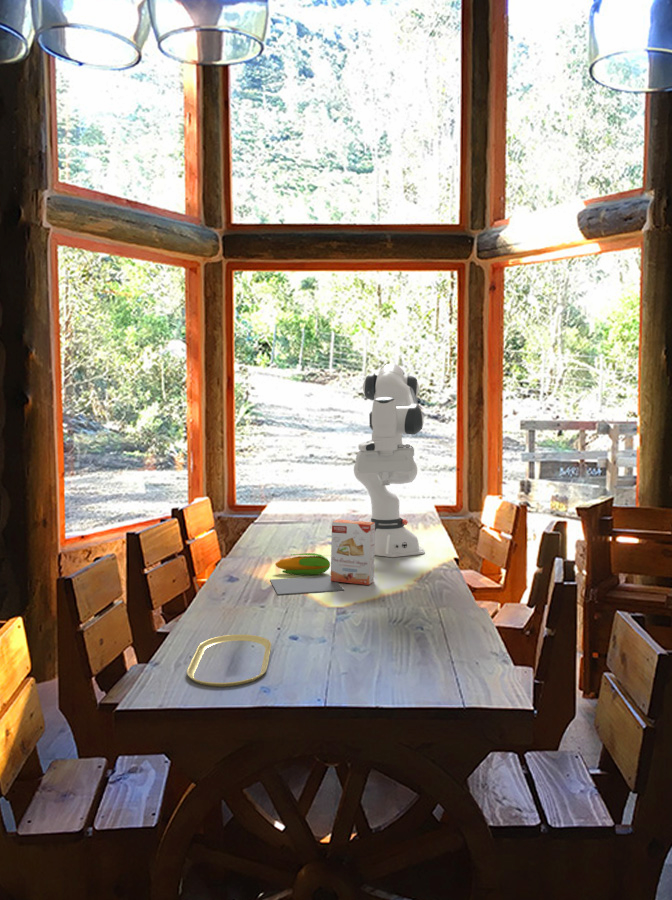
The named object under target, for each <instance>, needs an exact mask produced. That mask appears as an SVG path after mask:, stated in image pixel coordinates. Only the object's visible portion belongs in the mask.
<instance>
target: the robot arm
mask: <svg viewBox="0 0 672 900" xmlns="http://www.w3.org/2000/svg"><path fill="white" fill-rule="evenodd" d="M362 391H363V394H364V397H365V399H367V400H370V401H373V402H372V408H371V409H372V410H371V411H370V413H369V428H370V429H371V430H372V433H371V439H370V440H367V441H364V442H362V443H360V444H358V446H357V447H358V450H359V451H358V452H357V453H356V456H355V463H354V465H353V474H354V477H355V478H356V480H357V481H358V482H360V483H361V484H362V485H363V486H364V487H365V489H366V490H367V493H368V494H369V498H370V505H371V518H370V522H375V550H374V556H377V557H379V556H380V557H386V558H398V557H406V556H407V557H408V556H417V555H423V554H425V549H424V548H423V547H421V546H420V545H419V544H420V543H419V540H418V537H417V536H416V534H414V533H413V532H411V531H410V530H409V529H408V528H406V527H405V526H406V525H408V524H409V522H408V520H407V519H404V518H401V517H400V499H399V498H398V495H396V494H395V493H393V492H392V491H390V490H388V488H387V487H386V486H390V485H403V484H408V483H412V482H413V481H414V480H416V478H417V474H418V465H417V463H416V461H415V460H414V455H415V448H414V446H413V445H410V444H404V443H403V435H405V434H406V435H414V436H415V435H417V434H418V433H419V432H420V431H422V430H423V426H424V421H425V419H424V414H423V411H422V409H421V408H420V406H419V402H418V399H417V398H418V395H419V392H420V385H419V382H418V379H417V378H416V377H415V376H413V375H404V371H403V369H402V368H401V367H400V366H399V365H398V364H395V363H387V364H385V365H384V366H382V367H381V368H380V370H379V372H378V373H371V374H369V375H367V376H366V377H365V379H364V381H363V383H362Z"/></svg>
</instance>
